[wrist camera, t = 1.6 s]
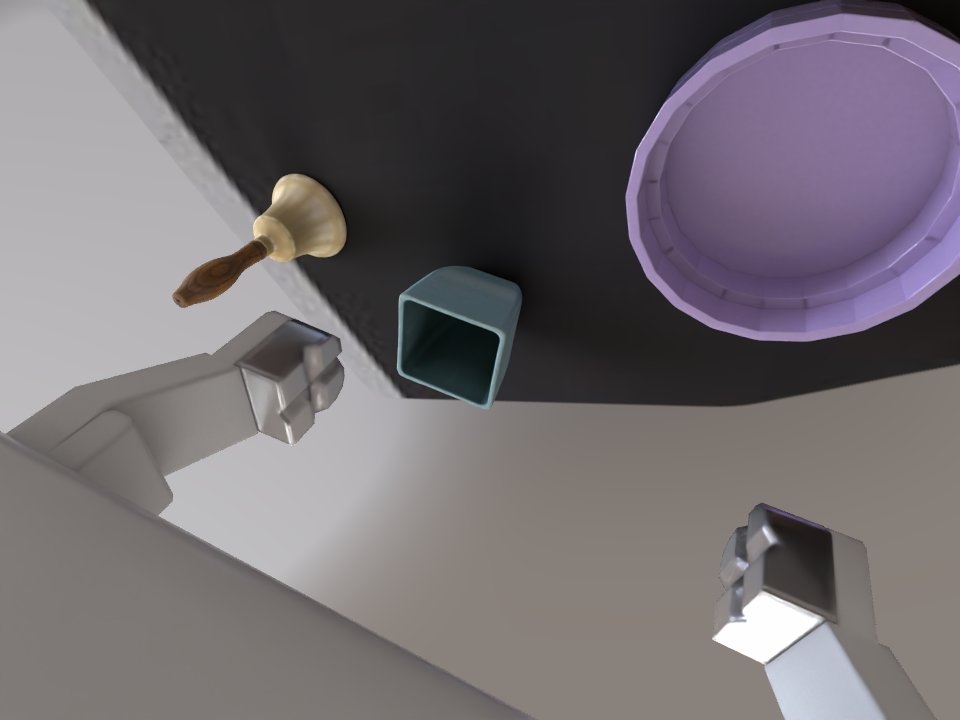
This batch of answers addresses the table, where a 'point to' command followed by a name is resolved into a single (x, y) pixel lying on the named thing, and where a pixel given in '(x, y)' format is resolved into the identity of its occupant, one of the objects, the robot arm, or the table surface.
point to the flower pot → (458, 332)
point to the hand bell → (275, 238)
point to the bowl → (805, 174)
